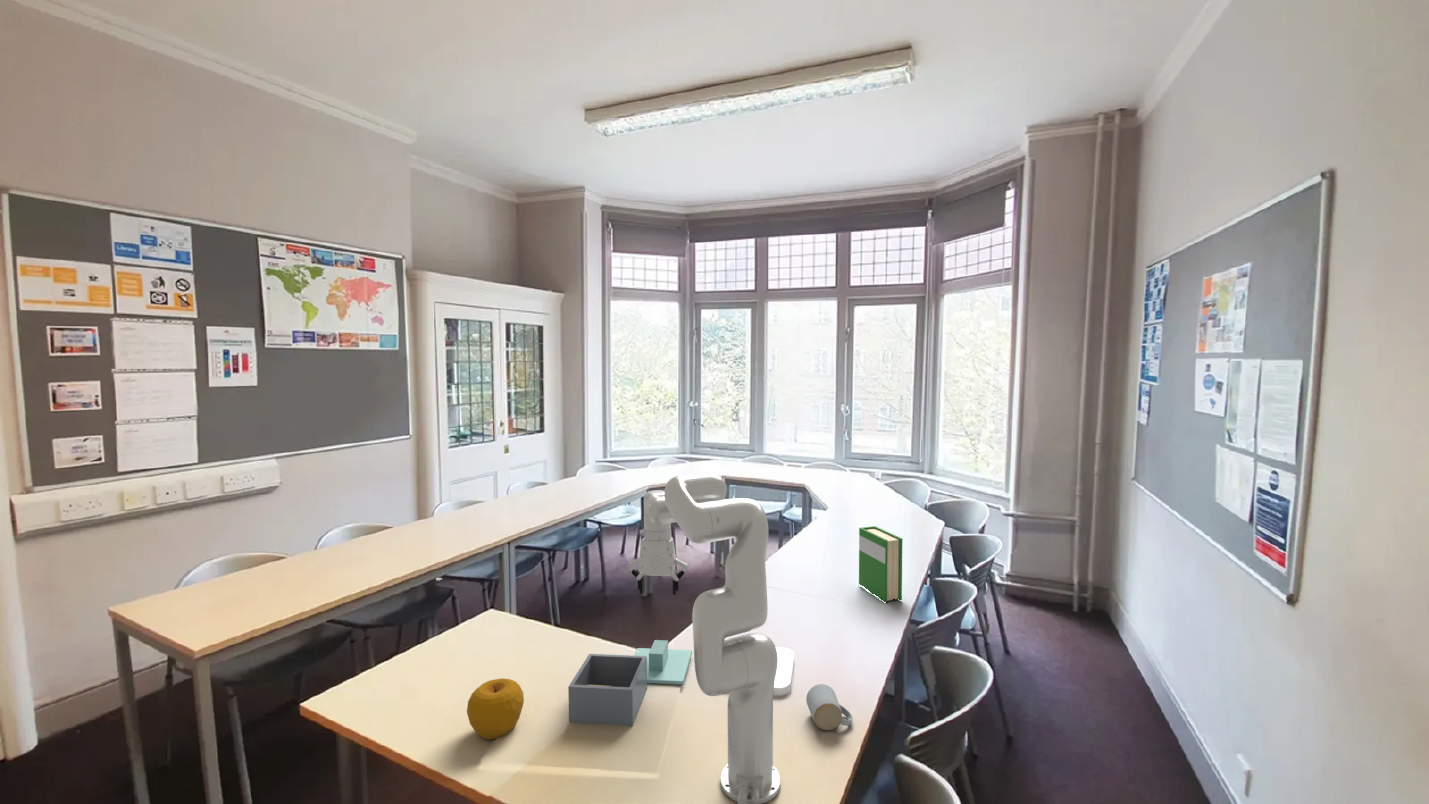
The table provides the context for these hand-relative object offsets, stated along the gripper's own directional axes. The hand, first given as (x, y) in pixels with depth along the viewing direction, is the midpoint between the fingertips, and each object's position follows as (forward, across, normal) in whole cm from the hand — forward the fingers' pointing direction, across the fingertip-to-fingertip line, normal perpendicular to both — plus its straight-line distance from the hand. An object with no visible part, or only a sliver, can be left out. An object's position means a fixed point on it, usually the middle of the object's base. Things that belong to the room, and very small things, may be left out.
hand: (658, 592), depth 160 cm
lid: (+24, 0, 0) cm, 24 cm away
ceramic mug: (+24, +47, -19) cm, 56 cm away
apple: (+24, -34, -30) cm, 51 cm away
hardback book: (+24, +75, +63) cm, 101 cm away
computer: (+24, +27, +3) cm, 36 cm away
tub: (+23, -9, -18) cm, 31 cm away
